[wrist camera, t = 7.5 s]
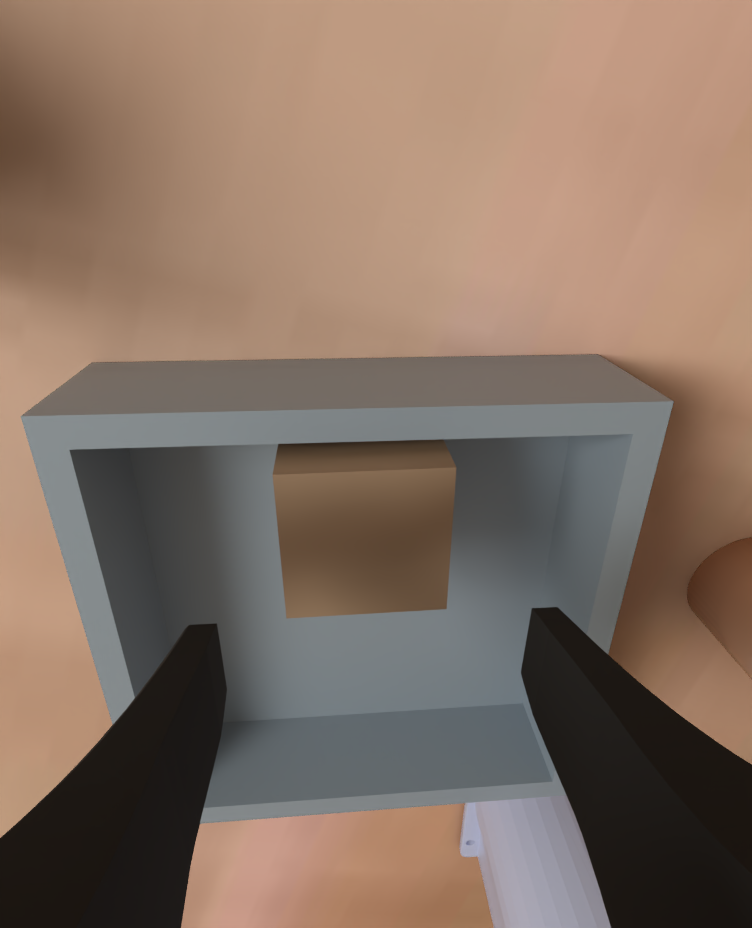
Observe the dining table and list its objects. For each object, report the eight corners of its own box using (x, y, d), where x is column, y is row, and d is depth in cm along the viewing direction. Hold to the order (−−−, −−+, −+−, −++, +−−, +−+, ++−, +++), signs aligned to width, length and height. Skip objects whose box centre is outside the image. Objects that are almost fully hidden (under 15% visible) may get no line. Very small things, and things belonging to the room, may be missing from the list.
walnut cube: (422, 523, 22) (446, 609, 18) (294, 529, 22) (286, 618, 17) (427, 403, 20) (456, 467, 15) (284, 408, 19) (272, 474, 15)
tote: (533, 699, 29) (571, 794, 24) (173, 722, 27) (143, 827, 23) (598, 354, 20) (673, 401, 16) (91, 362, 19) (20, 416, 15)
